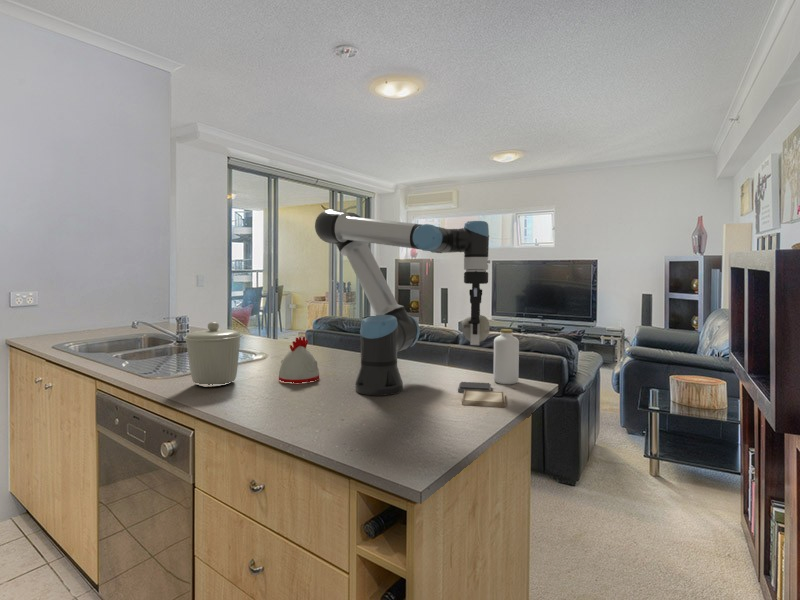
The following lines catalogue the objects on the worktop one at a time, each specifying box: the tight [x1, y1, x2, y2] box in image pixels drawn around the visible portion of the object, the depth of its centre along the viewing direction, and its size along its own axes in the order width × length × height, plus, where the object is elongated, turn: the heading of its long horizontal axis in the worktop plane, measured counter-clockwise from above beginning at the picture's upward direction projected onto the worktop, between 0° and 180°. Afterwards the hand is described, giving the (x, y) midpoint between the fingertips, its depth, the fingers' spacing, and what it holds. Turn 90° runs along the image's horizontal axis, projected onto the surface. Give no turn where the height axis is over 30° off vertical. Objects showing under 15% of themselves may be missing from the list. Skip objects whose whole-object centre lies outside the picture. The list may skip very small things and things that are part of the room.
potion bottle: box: [492, 328, 520, 385], centre depth 152 cm, size 8×8×18 cm
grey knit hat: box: [278, 336, 320, 383], centre depth 157 cm, size 14×14×15 cm
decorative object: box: [461, 314, 491, 343], centre depth 142 cm, size 9×9×10 cm
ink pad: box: [457, 381, 492, 393], centre depth 143 cm, size 10×8×2 cm
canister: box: [183, 321, 243, 385], centre depth 150 cm, size 18×18×21 cm
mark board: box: [461, 390, 506, 408], centre depth 132 cm, size 12×12×1 cm
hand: (475, 342), depth 142 cm, fingers closed on decorative object, 9 cm apart
